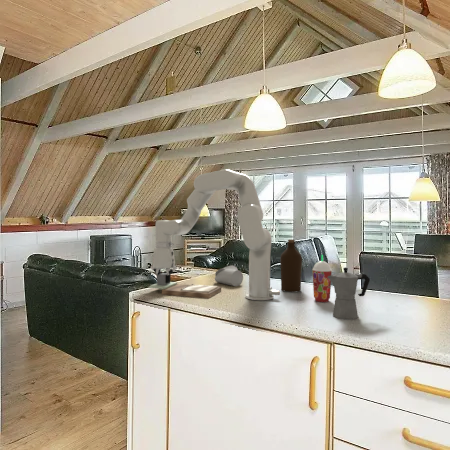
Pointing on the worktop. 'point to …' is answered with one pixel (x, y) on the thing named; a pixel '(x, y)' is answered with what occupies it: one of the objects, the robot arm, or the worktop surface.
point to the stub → (162, 282)
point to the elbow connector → (229, 276)
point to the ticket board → (192, 290)
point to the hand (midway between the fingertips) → (163, 282)
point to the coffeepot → (347, 293)
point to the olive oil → (291, 268)
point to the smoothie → (321, 281)
